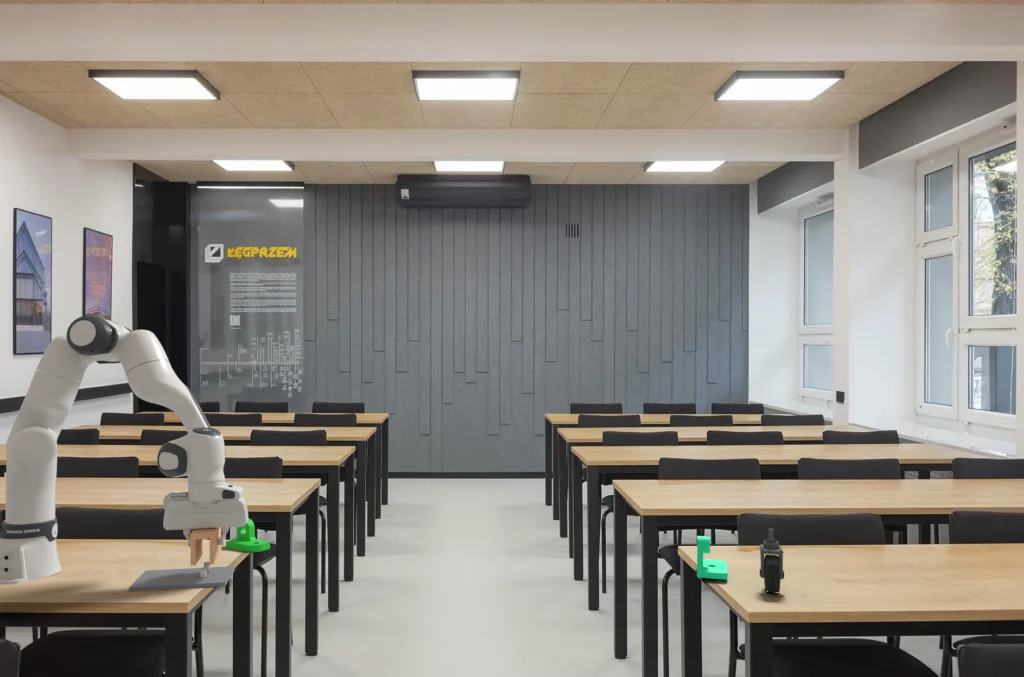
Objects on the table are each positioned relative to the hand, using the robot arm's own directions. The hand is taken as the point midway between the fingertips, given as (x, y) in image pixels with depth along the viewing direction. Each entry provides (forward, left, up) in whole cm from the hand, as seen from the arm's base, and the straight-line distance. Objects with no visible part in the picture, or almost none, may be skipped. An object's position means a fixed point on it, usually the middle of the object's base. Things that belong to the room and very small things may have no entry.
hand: (206, 545), depth 192 cm
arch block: (0, 0, -4) cm, 4 cm away
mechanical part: (+6, +31, -10) cm, 33 cm away
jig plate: (-5, 0, -9) cm, 10 cm away
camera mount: (+131, -20, -10) cm, 132 cm away
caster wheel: (+139, -35, -9) cm, 143 cm away
